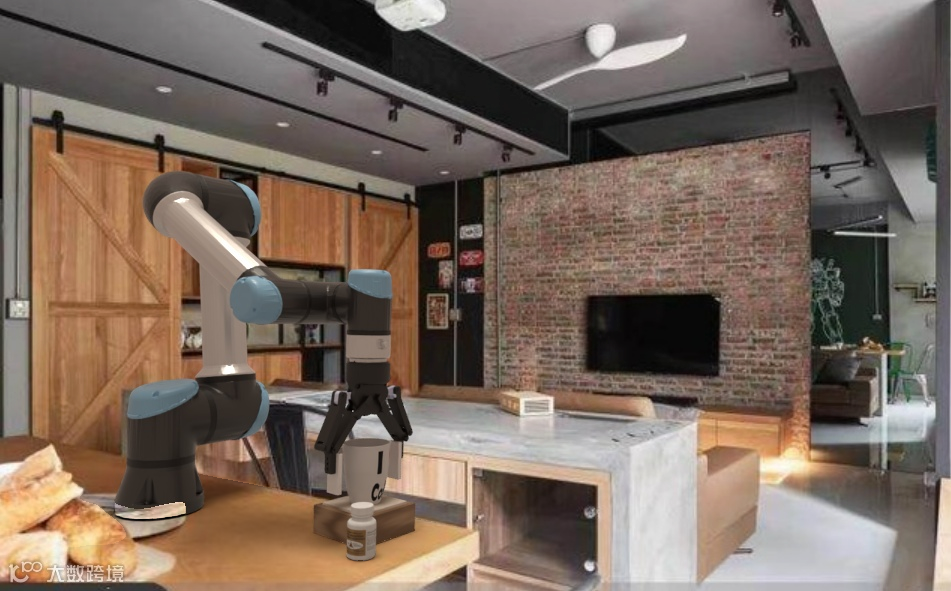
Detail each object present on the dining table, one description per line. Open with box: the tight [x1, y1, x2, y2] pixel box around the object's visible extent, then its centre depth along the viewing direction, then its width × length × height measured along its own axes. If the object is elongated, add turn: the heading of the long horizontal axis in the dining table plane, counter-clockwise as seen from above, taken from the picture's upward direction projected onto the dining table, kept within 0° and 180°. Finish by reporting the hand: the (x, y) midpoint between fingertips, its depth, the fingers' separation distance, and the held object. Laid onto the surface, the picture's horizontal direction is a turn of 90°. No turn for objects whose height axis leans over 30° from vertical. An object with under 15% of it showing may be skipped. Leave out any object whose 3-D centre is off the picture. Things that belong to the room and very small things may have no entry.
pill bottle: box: [346, 502, 377, 561], centre depth 100 cm, size 4×4×8 cm
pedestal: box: [312, 494, 416, 544], centre depth 112 cm, size 12×12×5 cm
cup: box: [341, 437, 391, 505], centre depth 112 cm, size 8×8×10 cm
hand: (365, 485), depth 112 cm, fingers open, 13 cm apart
